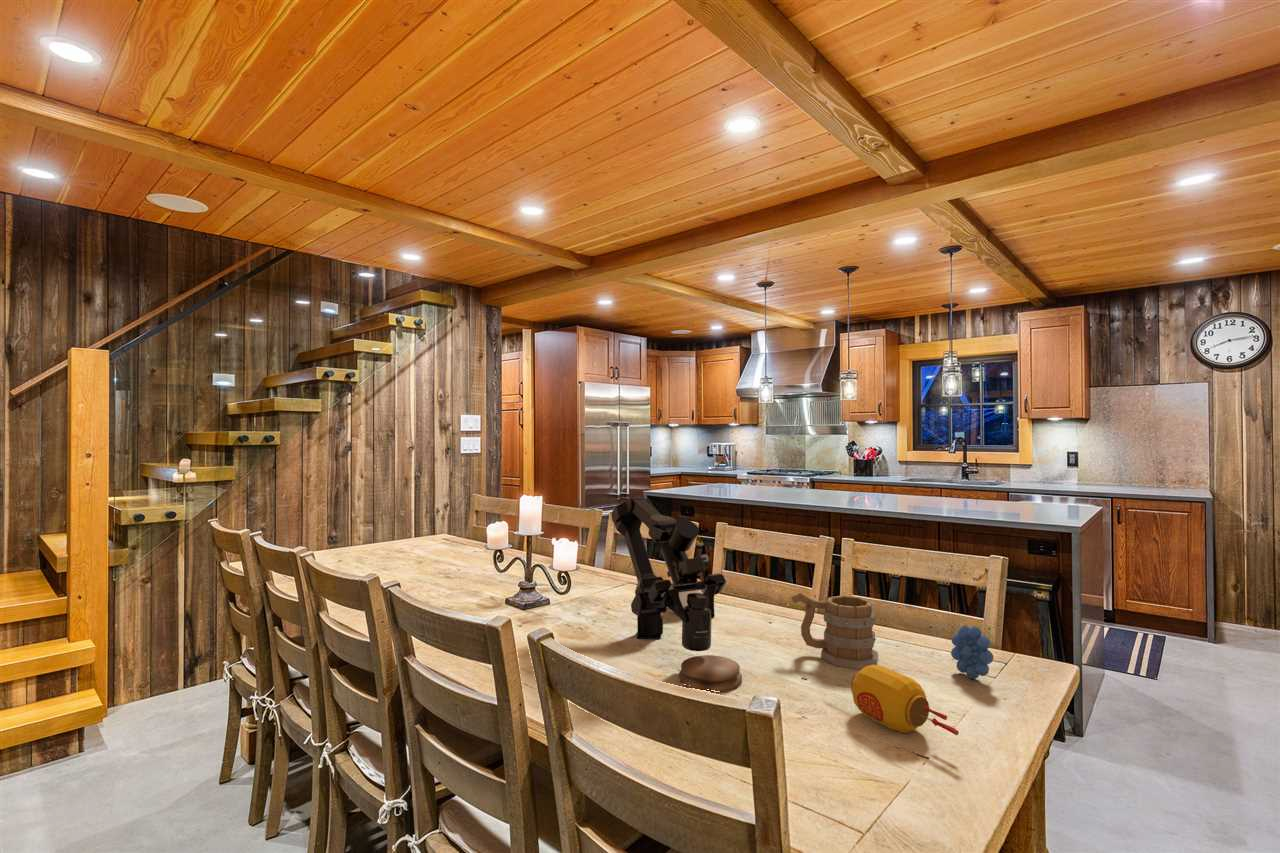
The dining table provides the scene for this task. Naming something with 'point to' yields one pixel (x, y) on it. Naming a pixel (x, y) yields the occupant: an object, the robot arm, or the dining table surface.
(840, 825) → the dining table surface
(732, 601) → the dining table surface
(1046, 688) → the dining table surface
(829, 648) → the tankard
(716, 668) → the pedestal stand
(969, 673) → the grapes
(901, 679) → the lantern
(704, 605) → the supplement bottle
